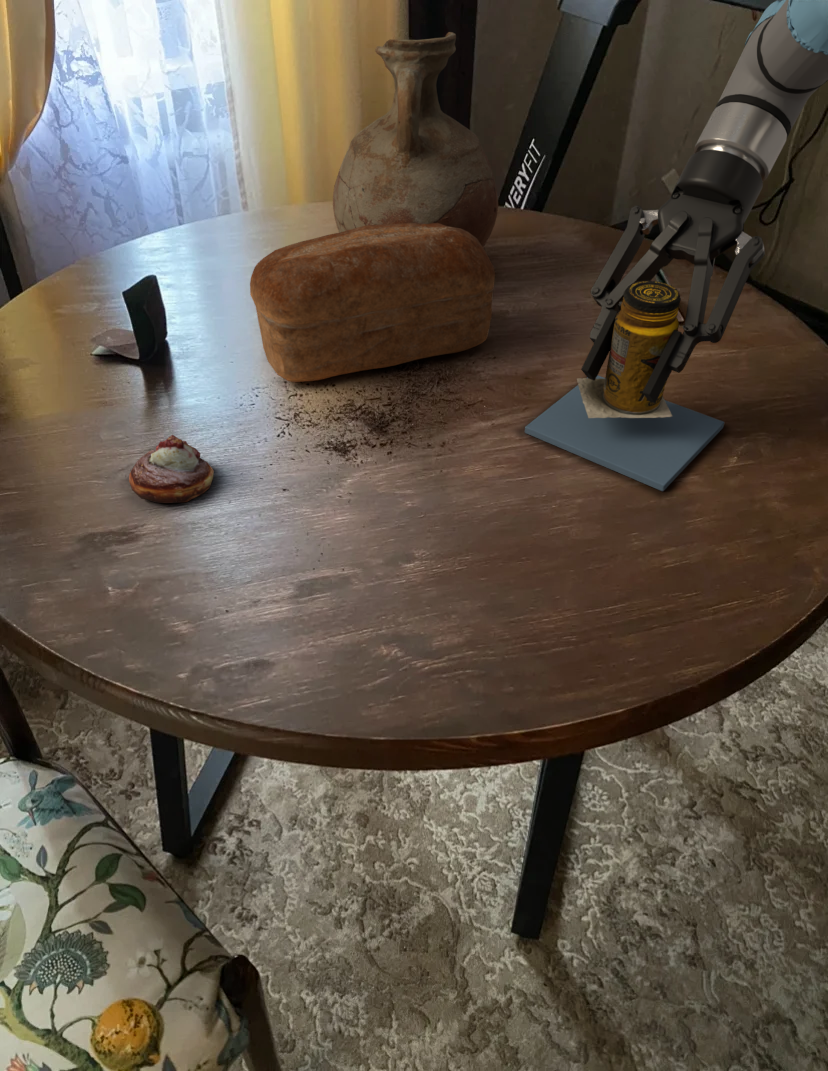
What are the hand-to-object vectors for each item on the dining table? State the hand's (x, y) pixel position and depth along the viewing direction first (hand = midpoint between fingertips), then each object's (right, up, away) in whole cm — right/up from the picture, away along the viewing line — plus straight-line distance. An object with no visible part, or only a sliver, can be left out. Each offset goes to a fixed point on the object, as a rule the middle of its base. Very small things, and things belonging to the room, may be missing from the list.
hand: (618, 385), depth 82 cm
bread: (-25, +8, +20) cm, 32 cm away
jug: (-20, +21, +35) cm, 45 cm away
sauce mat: (+2, -4, +7) cm, 8 cm away
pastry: (-44, -10, 0) cm, 45 cm away
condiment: (+2, -1, +5) cm, 5 cm away
